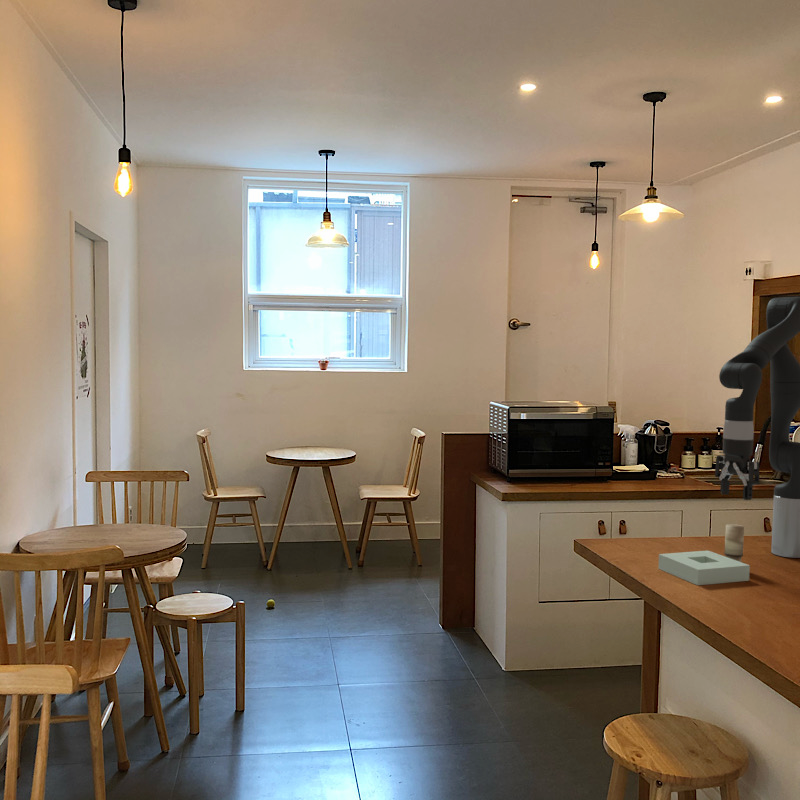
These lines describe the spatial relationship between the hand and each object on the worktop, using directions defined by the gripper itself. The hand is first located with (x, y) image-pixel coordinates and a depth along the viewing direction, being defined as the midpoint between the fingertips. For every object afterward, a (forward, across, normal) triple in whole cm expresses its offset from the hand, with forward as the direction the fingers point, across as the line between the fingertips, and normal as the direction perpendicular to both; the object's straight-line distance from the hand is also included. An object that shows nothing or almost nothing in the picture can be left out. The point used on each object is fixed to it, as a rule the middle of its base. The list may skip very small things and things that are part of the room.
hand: (735, 496), depth 219 cm
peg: (+20, 0, 0) cm, 20 cm away
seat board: (+20, -2, +12) cm, 23 cm away
